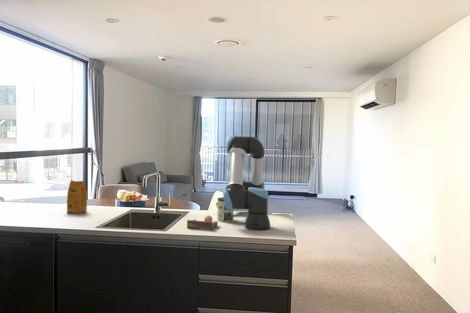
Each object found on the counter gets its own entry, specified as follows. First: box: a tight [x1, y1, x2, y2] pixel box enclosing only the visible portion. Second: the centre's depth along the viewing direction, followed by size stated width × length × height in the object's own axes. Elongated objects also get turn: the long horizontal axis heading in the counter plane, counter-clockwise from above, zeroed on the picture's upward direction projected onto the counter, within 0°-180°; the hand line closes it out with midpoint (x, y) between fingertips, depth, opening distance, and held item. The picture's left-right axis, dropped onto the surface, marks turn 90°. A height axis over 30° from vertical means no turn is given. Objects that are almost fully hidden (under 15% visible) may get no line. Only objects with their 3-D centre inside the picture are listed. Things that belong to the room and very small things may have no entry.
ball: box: [203, 214, 213, 222], centre depth 217 cm, size 5×5×5 cm
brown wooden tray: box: [186, 219, 218, 231], centre depth 207 cm, size 10×15×4 cm
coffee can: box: [216, 196, 234, 223], centre depth 227 cm, size 10×10×14 cm
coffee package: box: [66, 180, 88, 214], centre depth 245 cm, size 10×12×22 cm
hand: (227, 207), depth 232 cm, fingers open, 13 cm apart
